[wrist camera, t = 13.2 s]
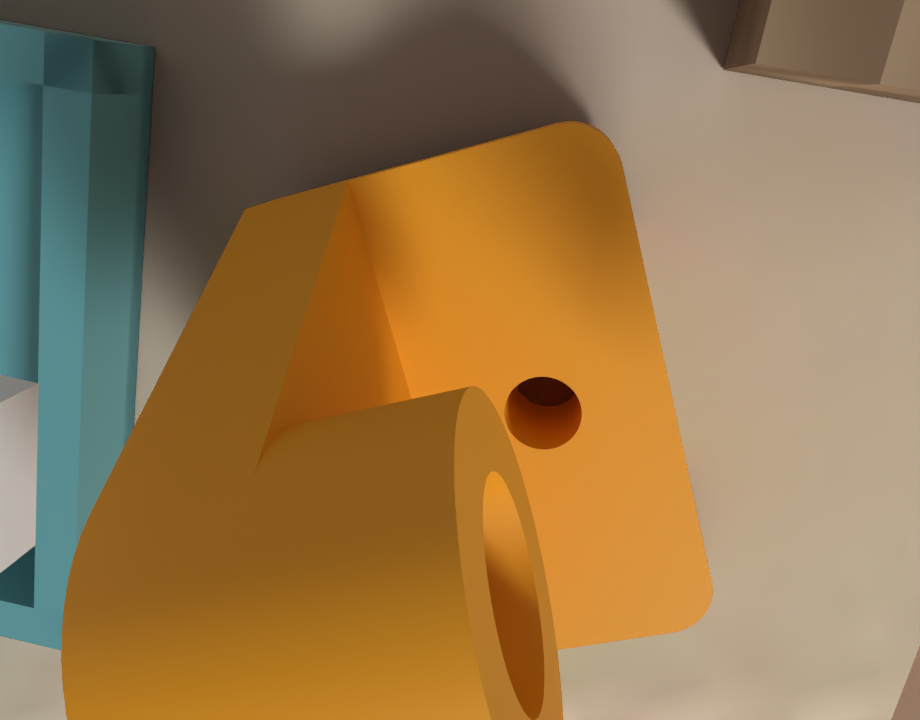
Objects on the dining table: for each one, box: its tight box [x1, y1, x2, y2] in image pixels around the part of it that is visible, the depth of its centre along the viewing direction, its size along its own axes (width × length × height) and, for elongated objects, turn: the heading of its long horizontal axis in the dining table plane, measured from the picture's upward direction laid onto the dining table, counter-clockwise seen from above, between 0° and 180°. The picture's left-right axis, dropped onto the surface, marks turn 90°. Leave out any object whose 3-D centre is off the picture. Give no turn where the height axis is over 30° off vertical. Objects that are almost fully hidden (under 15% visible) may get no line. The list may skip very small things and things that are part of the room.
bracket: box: [61, 121, 713, 720], centre depth 15 cm, size 11×7×12 cm, turn 16°
